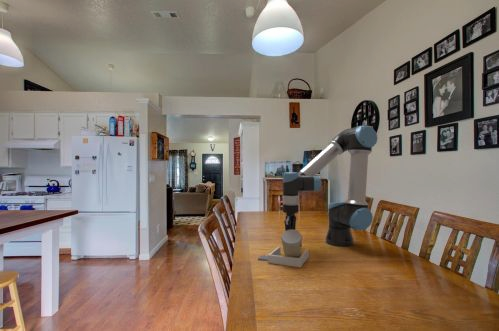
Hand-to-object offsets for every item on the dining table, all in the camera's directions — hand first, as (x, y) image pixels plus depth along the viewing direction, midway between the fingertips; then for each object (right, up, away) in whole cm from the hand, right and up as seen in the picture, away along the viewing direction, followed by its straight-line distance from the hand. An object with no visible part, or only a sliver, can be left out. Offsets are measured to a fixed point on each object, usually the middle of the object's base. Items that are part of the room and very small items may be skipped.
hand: (290, 252), depth 132 cm
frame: (-2, -2, -5) cm, 6 cm away
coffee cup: (0, 0, -4) cm, 4 cm away
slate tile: (-13, -2, -3) cm, 13 cm away
